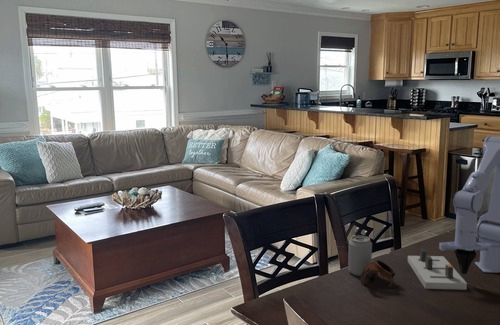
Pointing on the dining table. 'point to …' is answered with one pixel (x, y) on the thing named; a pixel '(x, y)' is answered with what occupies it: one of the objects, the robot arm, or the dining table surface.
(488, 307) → the dining table surface
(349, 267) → the can
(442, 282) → the breaker panel
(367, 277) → the pottery mug
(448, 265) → the handle
